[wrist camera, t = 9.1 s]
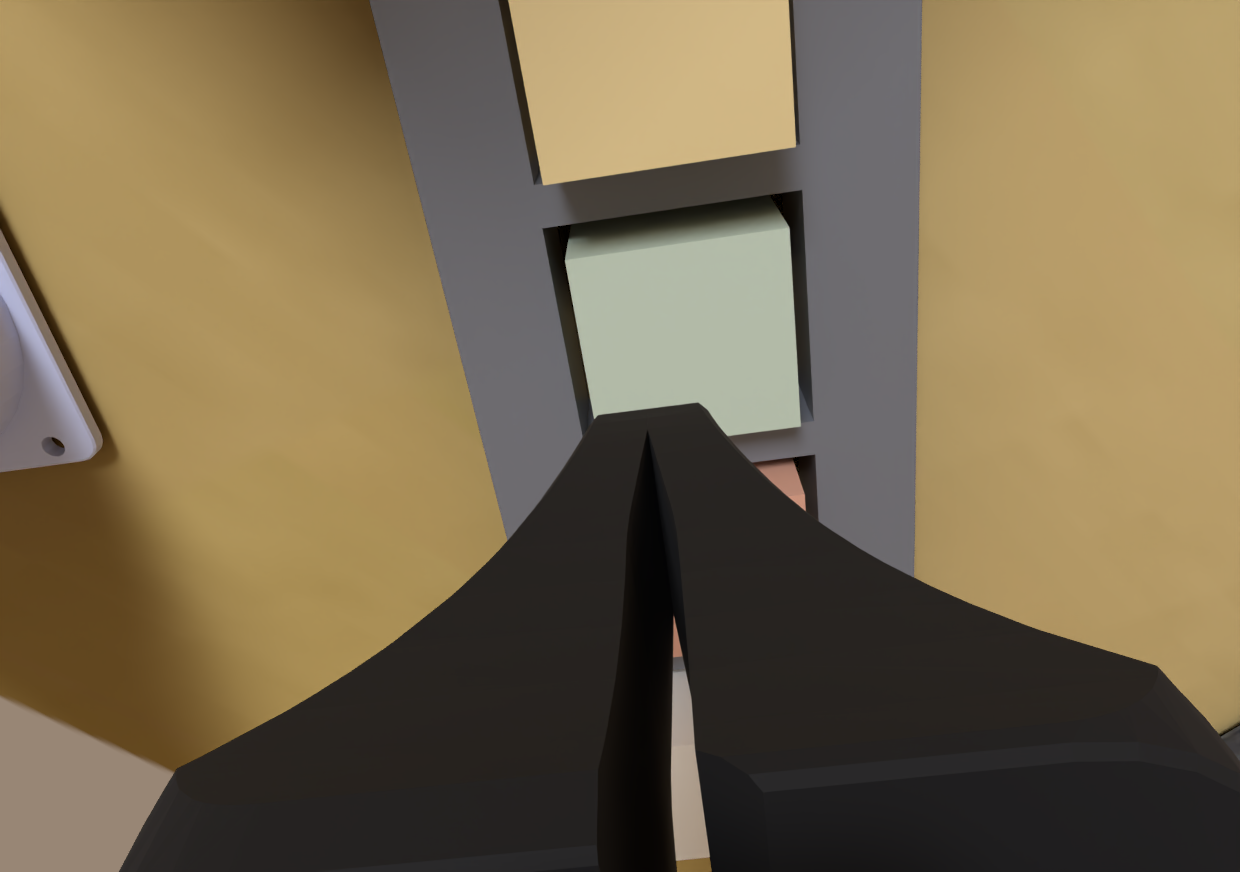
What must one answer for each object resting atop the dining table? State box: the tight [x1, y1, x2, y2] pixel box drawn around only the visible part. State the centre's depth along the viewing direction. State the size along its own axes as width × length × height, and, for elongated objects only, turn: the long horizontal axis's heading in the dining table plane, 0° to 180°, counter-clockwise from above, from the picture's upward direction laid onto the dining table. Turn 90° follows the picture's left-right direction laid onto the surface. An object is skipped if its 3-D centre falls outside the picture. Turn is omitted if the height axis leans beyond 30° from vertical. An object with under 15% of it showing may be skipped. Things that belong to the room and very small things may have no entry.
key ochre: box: [508, 0, 796, 185], centre depth 14 cm, size 4×4×3 cm
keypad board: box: [369, 0, 922, 670], centre depth 18 cm, size 9×30×2 cm, turn 8°
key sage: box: [565, 195, 801, 436], centre depth 18 cm, size 4×4×3 cm
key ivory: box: [671, 669, 710, 861], centre depth 22 cm, size 4×4×3 cm
